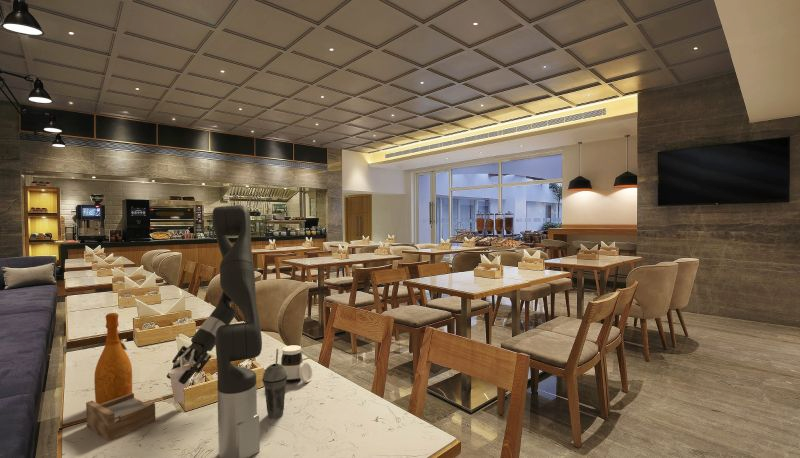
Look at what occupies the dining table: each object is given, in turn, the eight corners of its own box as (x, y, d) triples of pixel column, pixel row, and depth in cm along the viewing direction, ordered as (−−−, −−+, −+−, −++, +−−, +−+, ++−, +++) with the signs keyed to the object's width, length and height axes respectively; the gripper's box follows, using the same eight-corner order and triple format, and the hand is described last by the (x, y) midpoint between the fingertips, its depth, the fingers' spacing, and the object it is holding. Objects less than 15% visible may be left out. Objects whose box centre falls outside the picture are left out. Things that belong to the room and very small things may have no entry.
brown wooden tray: (155, 420, 116) (154, 397, 116) (108, 440, 106) (108, 415, 105) (132, 408, 123) (132, 387, 123) (86, 426, 113) (86, 402, 113)
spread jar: (283, 374, 150) (282, 344, 150) (313, 372, 152) (312, 342, 152) (279, 387, 138) (278, 355, 138) (311, 385, 140) (311, 353, 140)
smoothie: (182, 405, 119) (180, 360, 119) (164, 404, 121) (162, 359, 120) (197, 396, 125) (195, 353, 125) (180, 394, 127) (178, 352, 126)
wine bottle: (128, 408, 123) (125, 315, 122) (90, 414, 120) (87, 318, 119) (136, 395, 132) (134, 308, 132) (101, 401, 129) (98, 311, 128)
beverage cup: (257, 417, 117) (256, 352, 117) (275, 406, 124) (274, 344, 123) (275, 423, 114) (274, 355, 113) (293, 412, 121) (292, 348, 120)
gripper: (189, 324, 133) (153, 370, 123) (214, 330, 125) (178, 380, 115) (204, 336, 137) (171, 381, 127) (230, 342, 130) (196, 390, 120)
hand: (175, 380), depth 121 cm, fingers closed on smoothie, 6 cm apart
